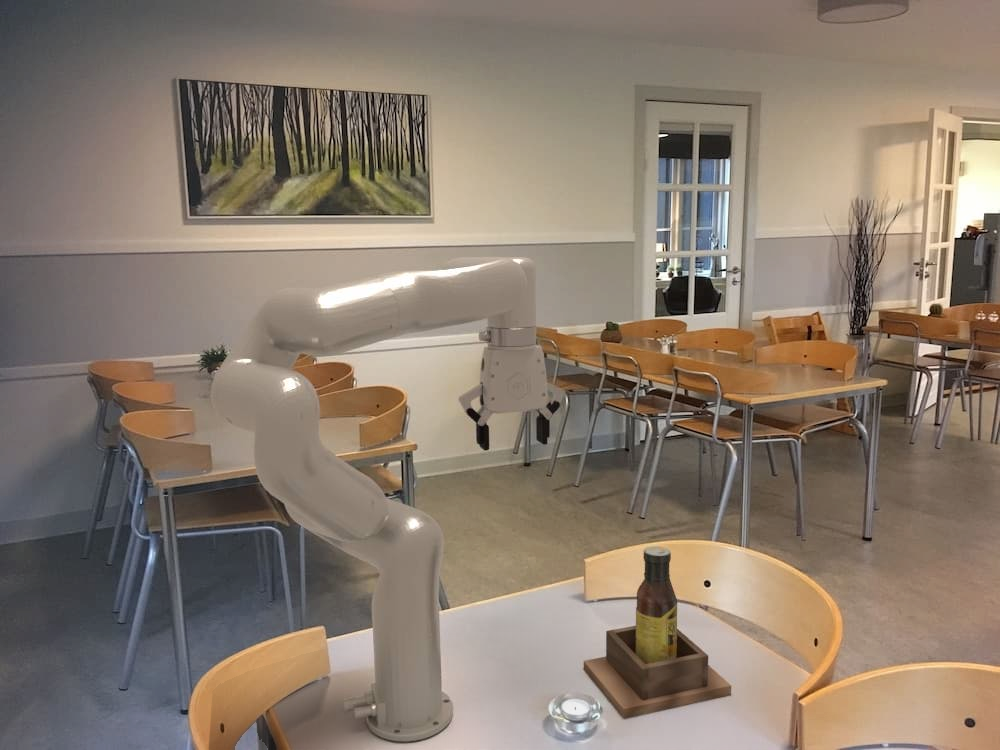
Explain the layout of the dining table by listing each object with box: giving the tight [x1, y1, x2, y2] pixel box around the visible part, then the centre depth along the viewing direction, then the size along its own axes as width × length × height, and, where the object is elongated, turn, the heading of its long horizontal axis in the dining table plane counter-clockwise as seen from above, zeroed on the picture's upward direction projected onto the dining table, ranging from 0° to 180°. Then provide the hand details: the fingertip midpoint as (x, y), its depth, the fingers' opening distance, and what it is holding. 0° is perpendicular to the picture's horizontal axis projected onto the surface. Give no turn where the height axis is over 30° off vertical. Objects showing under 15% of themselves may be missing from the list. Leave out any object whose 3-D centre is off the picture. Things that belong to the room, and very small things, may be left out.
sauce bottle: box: [635, 546, 678, 664], centre depth 119 cm, size 7×6×20 cm
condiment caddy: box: [583, 625, 732, 719], centre depth 121 cm, size 18×14×6 cm
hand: (513, 445), depth 123 cm, fingers open, 9 cm apart
